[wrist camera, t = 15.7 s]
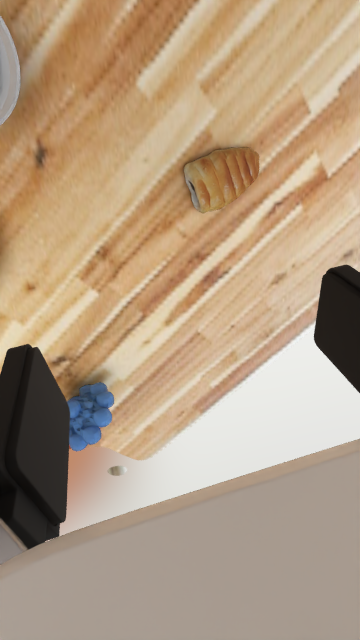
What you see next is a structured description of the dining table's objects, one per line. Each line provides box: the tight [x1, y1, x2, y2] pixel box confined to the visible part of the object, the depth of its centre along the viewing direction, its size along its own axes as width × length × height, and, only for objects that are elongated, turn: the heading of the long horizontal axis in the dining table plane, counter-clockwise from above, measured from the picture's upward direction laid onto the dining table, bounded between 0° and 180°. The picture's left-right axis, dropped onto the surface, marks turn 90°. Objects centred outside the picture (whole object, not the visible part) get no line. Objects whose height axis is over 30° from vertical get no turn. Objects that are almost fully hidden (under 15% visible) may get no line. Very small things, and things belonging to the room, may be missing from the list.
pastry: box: [184, 147, 259, 213], centre depth 40 cm, size 9×7×4 cm
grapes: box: [67, 382, 114, 451], centre depth 51 cm, size 12×7×12 cm, turn 132°
